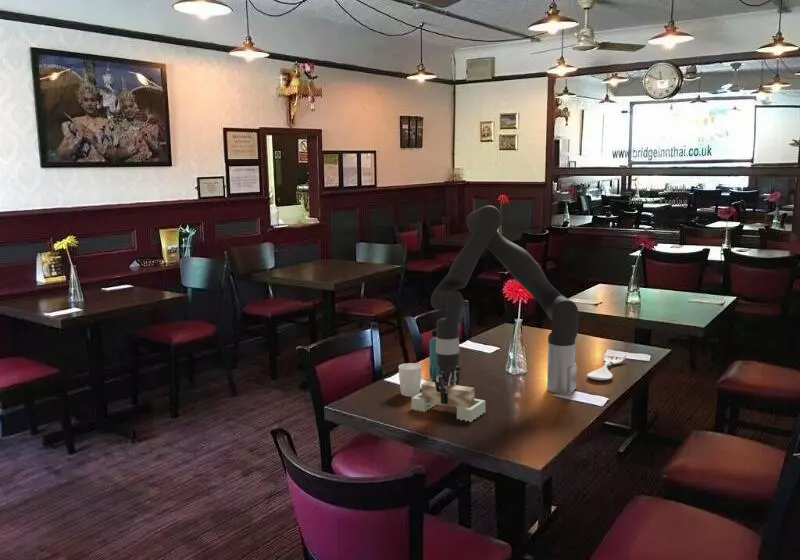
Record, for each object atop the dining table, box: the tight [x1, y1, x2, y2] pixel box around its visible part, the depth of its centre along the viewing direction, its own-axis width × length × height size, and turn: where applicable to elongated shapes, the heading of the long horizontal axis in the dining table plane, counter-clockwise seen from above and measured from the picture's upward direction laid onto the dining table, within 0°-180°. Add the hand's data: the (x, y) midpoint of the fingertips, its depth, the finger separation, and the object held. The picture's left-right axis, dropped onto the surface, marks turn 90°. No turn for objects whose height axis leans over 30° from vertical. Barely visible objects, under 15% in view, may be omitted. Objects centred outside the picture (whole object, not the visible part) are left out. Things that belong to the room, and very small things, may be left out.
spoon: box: [586, 352, 627, 381], centre depth 255 cm, size 9×32×4 cm, turn 150°
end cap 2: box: [456, 397, 486, 423], centre depth 212 cm, size 5×10×4 cm, turn 146°
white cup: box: [398, 362, 422, 397], centre depth 234 cm, size 8×8×10 cm
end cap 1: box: [411, 391, 437, 413], centre depth 222 cm, size 5×10×4 cm, turn 146°
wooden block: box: [420, 380, 475, 408], centre depth 217 cm, size 17×4×6 cm, turn 62°
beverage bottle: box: [428, 328, 440, 381], centre depth 245 cm, size 6×7×20 cm
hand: (448, 401), depth 217 cm, fingers closed on wooden block, 4 cm apart
